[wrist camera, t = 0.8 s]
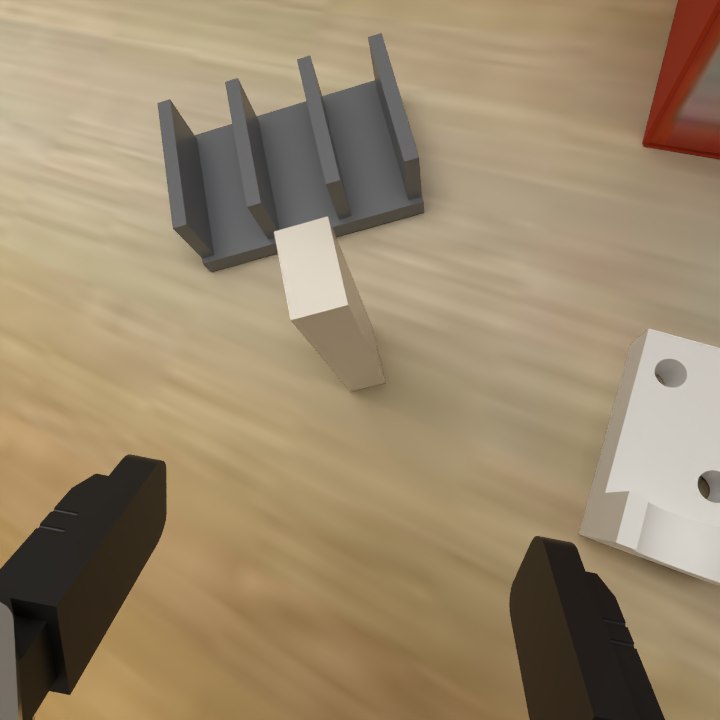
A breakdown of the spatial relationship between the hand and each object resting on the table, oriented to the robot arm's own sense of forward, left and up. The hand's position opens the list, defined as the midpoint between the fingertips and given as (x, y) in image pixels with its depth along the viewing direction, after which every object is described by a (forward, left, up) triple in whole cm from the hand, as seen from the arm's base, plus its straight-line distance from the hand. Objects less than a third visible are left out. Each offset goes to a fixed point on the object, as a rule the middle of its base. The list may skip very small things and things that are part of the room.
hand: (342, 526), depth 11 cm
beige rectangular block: (-6, -10, -24) cm, 26 cm away
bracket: (-13, +9, -24) cm, 29 cm away
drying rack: (-14, -24, -24) cm, 36 cm away
